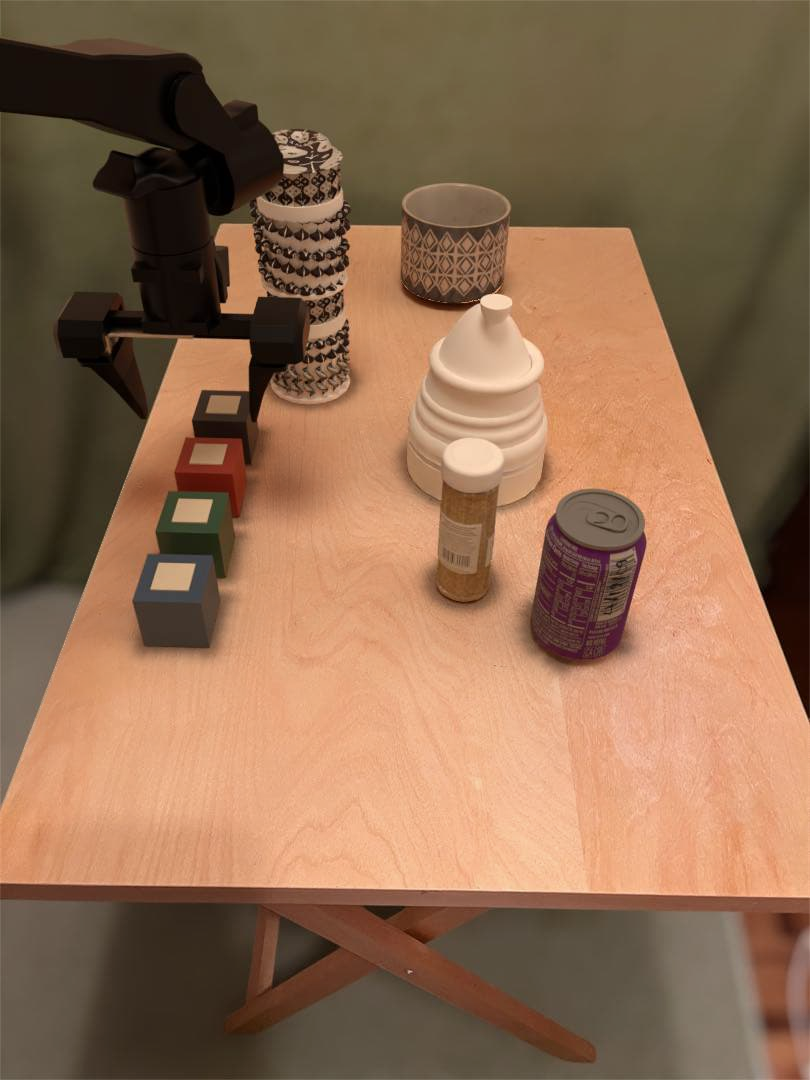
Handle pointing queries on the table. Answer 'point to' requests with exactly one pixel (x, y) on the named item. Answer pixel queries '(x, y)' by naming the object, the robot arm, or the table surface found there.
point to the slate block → (177, 600)
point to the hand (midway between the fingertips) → (199, 418)
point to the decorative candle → (308, 260)
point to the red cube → (213, 468)
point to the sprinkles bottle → (468, 517)
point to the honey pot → (481, 400)
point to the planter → (454, 241)
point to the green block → (197, 526)
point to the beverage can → (588, 573)
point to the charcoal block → (226, 419)
